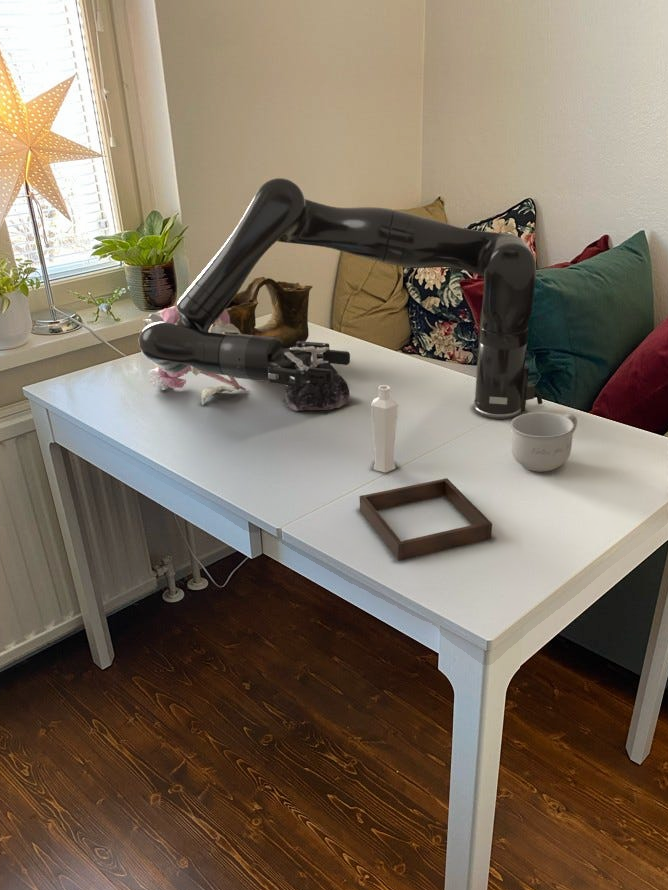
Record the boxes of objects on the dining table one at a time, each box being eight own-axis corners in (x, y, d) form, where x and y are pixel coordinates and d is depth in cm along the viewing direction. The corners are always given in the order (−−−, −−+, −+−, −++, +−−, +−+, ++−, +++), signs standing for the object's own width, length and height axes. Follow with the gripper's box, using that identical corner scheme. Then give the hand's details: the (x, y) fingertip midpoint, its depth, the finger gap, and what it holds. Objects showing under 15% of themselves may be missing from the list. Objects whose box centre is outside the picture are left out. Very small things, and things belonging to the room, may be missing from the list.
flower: (232, 354, 196) (170, 259, 180) (286, 374, 180) (223, 271, 164) (165, 412, 190) (95, 319, 174) (215, 438, 174) (142, 338, 158)
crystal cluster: (333, 422, 171) (337, 373, 166) (270, 407, 174) (272, 359, 169) (357, 401, 183) (361, 355, 178) (297, 387, 186) (300, 341, 181)
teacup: (531, 483, 149) (535, 441, 145) (495, 457, 158) (499, 416, 153) (595, 466, 155) (602, 424, 151) (558, 441, 163) (563, 401, 159)
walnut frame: (446, 492, 147) (447, 477, 145) (491, 538, 135) (492, 523, 133) (359, 510, 142) (359, 495, 140) (398, 560, 129) (398, 544, 128)
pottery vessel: (239, 391, 182) (230, 296, 172) (207, 377, 189) (196, 285, 178) (325, 358, 198) (322, 270, 187) (293, 347, 204) (288, 261, 194)
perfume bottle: (394, 474, 152) (395, 394, 144) (370, 472, 153) (369, 391, 145) (400, 462, 156) (400, 383, 148) (375, 460, 156) (375, 381, 148)
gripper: (231, 350, 143) (325, 361, 139) (266, 323, 154) (354, 331, 150) (236, 393, 147) (327, 404, 143) (270, 363, 158) (355, 373, 154)
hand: (340, 367), depth 147 cm, fingers open, 8 cm apart
